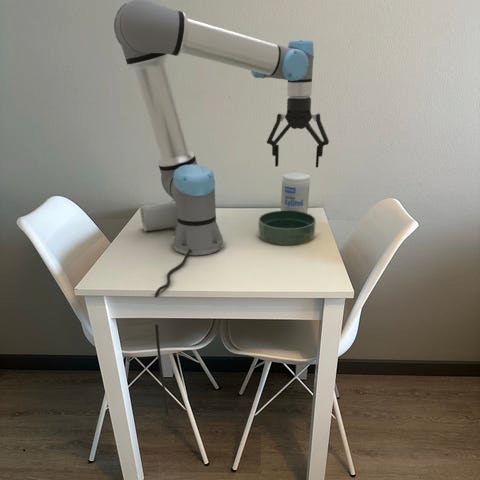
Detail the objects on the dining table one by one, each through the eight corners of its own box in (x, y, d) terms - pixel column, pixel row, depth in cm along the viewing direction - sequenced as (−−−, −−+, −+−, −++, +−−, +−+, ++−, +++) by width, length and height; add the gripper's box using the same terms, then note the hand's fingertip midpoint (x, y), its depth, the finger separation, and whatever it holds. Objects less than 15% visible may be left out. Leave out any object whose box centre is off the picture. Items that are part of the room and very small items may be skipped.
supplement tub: (282, 222, 163) (284, 179, 155) (278, 213, 171) (279, 172, 163) (310, 221, 163) (312, 178, 156) (304, 212, 172) (307, 171, 164)
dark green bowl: (322, 243, 145) (323, 226, 143) (265, 248, 143) (265, 231, 140) (304, 224, 161) (305, 208, 158) (253, 228, 158) (253, 212, 155)
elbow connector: (189, 232, 152) (202, 213, 169) (180, 201, 147) (194, 184, 164) (140, 241, 156) (157, 222, 173) (129, 211, 151) (148, 194, 168)
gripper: (339, 95, 148) (334, 164, 159) (262, 95, 153) (262, 162, 164) (339, 98, 142) (333, 169, 153) (258, 98, 146) (258, 167, 157)
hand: (296, 166), depth 158 cm, fingers open, 13 cm apart
